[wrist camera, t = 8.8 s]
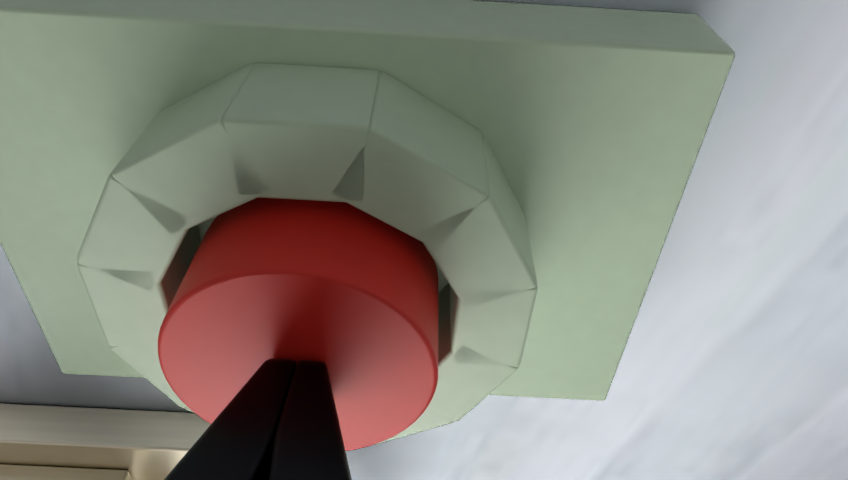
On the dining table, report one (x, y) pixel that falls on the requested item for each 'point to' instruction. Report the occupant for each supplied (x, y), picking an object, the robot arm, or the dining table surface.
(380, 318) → the red push button
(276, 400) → the robot arm
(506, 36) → the button box
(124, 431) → the switch bracket
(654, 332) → the dining table surface
